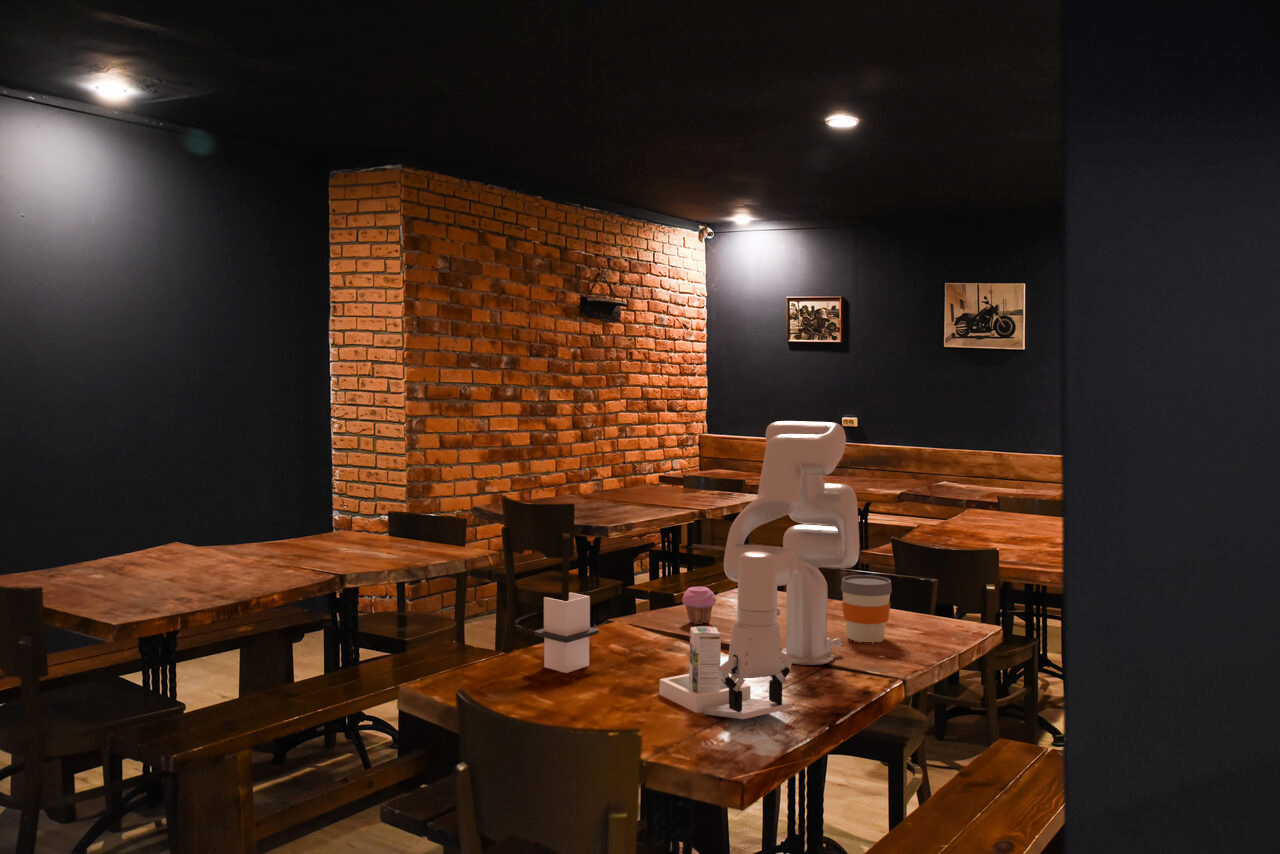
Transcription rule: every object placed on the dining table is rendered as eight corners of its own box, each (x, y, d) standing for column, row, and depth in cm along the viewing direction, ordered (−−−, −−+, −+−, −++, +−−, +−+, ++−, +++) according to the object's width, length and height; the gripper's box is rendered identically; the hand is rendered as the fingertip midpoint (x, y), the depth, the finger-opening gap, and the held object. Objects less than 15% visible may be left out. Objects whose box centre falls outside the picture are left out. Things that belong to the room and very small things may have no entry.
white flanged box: (567, 647, 252) (567, 581, 251) (642, 665, 236) (642, 595, 235) (490, 669, 233) (489, 598, 232) (566, 691, 217) (566, 615, 216)
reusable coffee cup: (836, 641, 256) (836, 582, 255) (845, 630, 268) (846, 573, 267) (887, 647, 251) (887, 586, 251) (894, 634, 263) (895, 577, 262)
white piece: (711, 685, 220) (711, 669, 220) (750, 702, 209) (750, 685, 209) (659, 695, 213) (659, 679, 213) (696, 714, 202) (696, 696, 202)
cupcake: (693, 628, 269) (693, 591, 268) (676, 621, 276) (676, 584, 276) (721, 624, 273) (721, 587, 273) (703, 617, 281) (703, 581, 280)
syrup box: (688, 695, 214) (688, 626, 213) (716, 694, 214) (716, 625, 214) (692, 703, 208) (692, 633, 207) (721, 702, 209) (721, 632, 208)
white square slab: (703, 714, 201) (702, 708, 201) (751, 703, 207) (750, 698, 207) (743, 719, 190) (742, 713, 190) (792, 708, 196) (792, 702, 197)
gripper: (779, 609, 203) (778, 694, 203) (708, 618, 194) (707, 708, 194) (804, 616, 196) (803, 704, 197) (732, 626, 187) (731, 718, 188)
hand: (755, 706), depth 195 cm, fingers open, 9 cm apart
